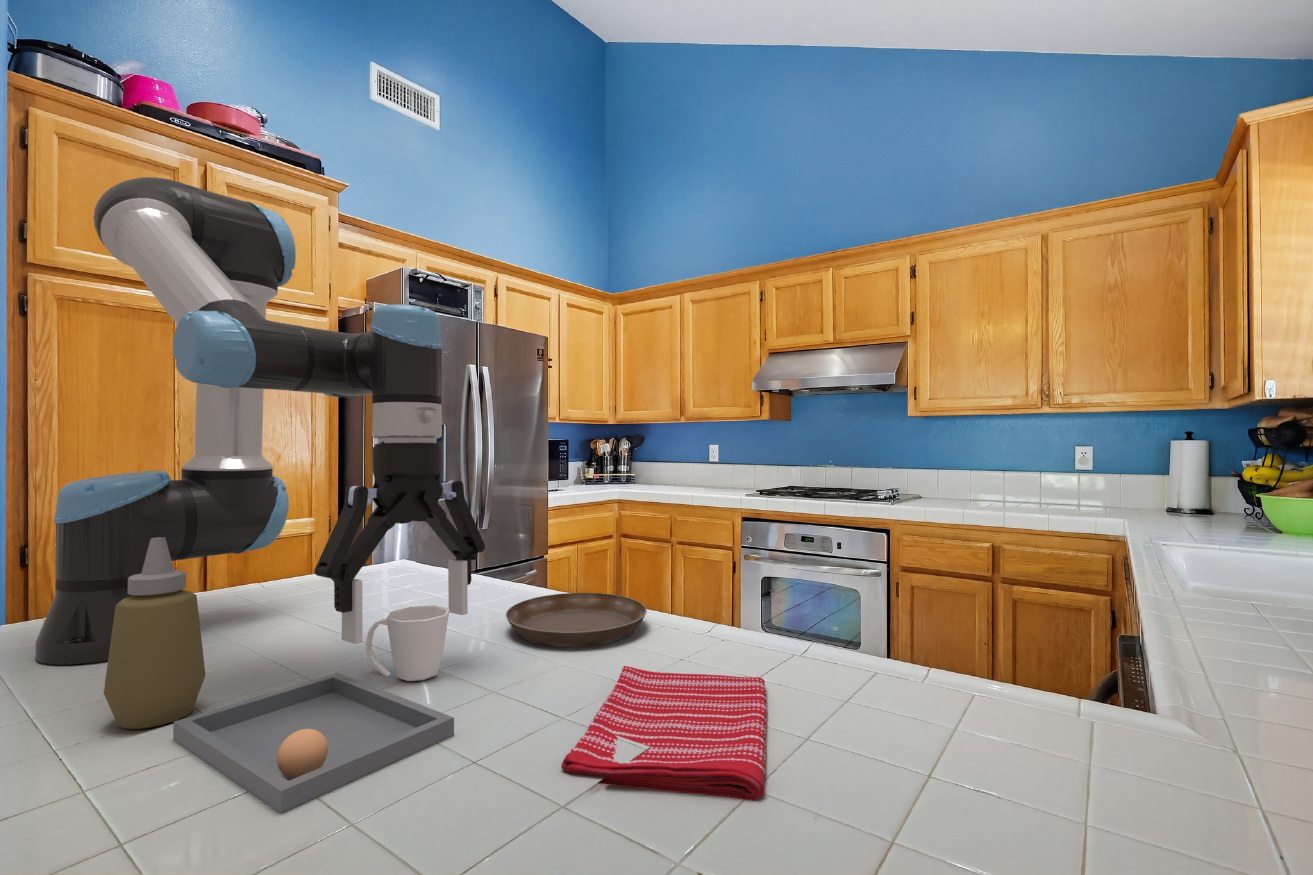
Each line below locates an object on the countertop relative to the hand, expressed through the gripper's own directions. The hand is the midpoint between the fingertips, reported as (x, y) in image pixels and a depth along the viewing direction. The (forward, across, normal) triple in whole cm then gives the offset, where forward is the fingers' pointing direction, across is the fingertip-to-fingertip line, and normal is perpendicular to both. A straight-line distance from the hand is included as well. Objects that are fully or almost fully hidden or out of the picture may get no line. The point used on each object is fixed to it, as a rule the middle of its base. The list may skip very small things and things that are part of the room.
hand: (409, 626), depth 73 cm
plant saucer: (+7, +27, -2) cm, 28 cm away
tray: (+7, -14, -6) cm, 17 cm away
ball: (+6, -18, -12) cm, 23 cm away
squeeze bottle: (+6, -20, +12) cm, 24 cm away
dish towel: (+8, +8, -31) cm, 33 cm away
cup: (+7, 0, 0) cm, 7 cm away
